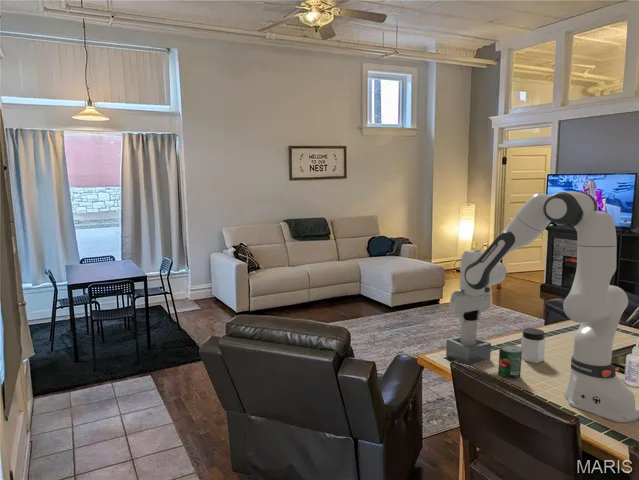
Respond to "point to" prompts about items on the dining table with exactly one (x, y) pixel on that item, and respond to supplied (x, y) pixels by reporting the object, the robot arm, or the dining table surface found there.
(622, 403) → the robot arm
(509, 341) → the dining table surface
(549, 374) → the dining table surface
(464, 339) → the travel mug
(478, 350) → the grey square open box
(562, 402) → the dining table surface
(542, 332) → the jar
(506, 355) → the canned tomato
